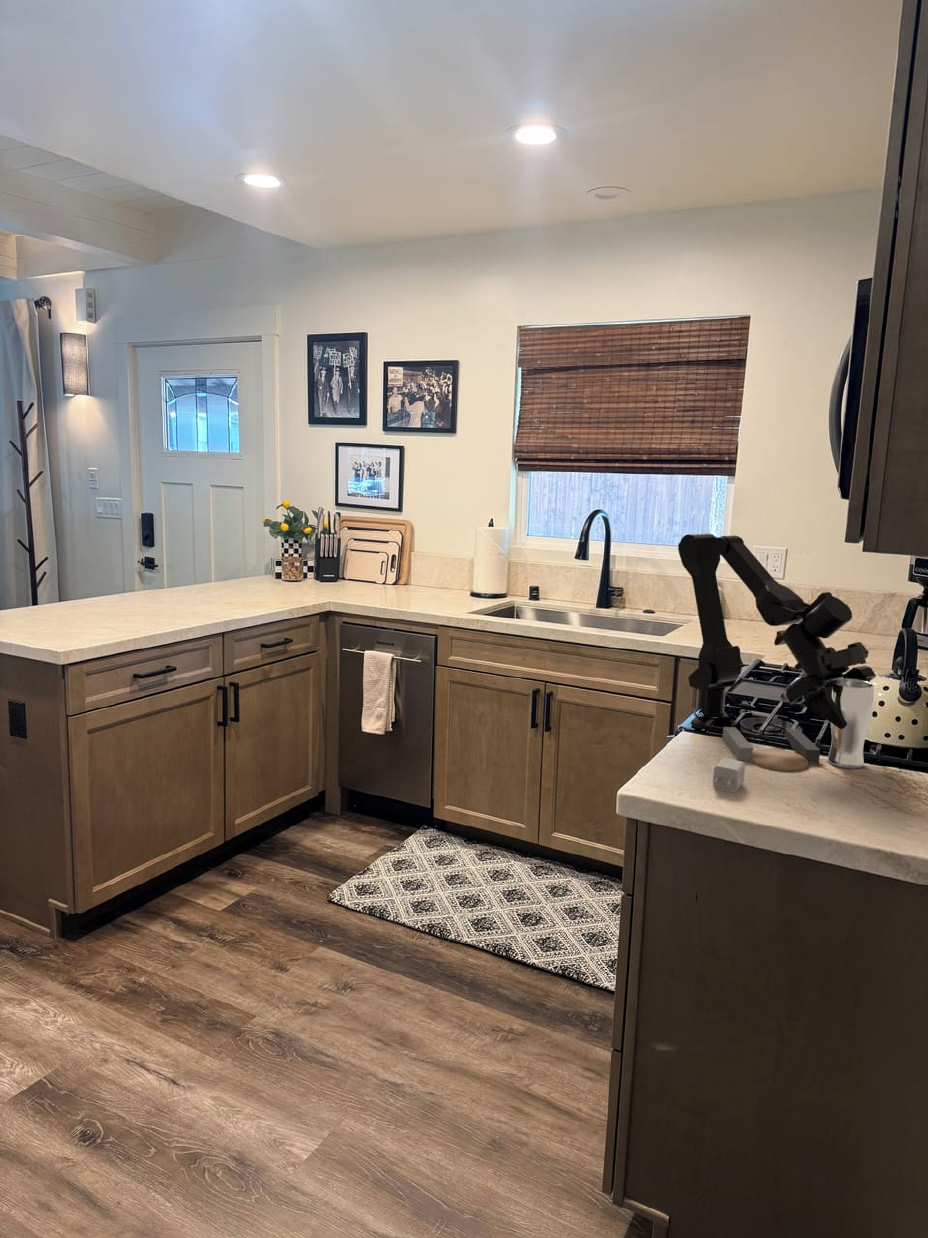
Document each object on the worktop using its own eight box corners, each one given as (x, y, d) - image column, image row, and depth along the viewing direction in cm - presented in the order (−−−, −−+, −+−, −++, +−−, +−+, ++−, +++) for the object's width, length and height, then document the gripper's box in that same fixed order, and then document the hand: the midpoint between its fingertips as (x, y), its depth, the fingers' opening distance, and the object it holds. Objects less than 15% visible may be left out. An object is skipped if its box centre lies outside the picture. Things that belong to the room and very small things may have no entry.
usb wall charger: (743, 784, 141) (745, 762, 140) (732, 798, 135) (734, 775, 135) (719, 779, 143) (721, 757, 142) (708, 793, 137) (709, 770, 137)
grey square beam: (722, 738, 164) (723, 727, 164) (734, 739, 164) (735, 727, 164) (738, 760, 152) (739, 747, 152) (751, 760, 152) (752, 748, 152)
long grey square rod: (784, 740, 164) (785, 728, 163) (796, 740, 163) (797, 729, 163) (805, 762, 152) (806, 749, 151) (818, 762, 152) (820, 750, 151)
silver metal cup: (858, 757, 155) (867, 678, 152) (872, 770, 148) (881, 689, 145) (819, 755, 155) (827, 677, 152) (831, 768, 148) (840, 687, 146)
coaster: (743, 751, 157) (743, 748, 157) (797, 752, 157) (797, 749, 157) (758, 770, 147) (759, 767, 147) (816, 772, 147) (816, 769, 147)
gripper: (805, 632, 146) (855, 710, 138) (872, 623, 155) (922, 695, 147) (765, 666, 154) (810, 741, 147) (831, 655, 163) (876, 725, 156)
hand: (856, 725), depth 149 cm, fingers closed on silver metal cup, 7 cm apart
